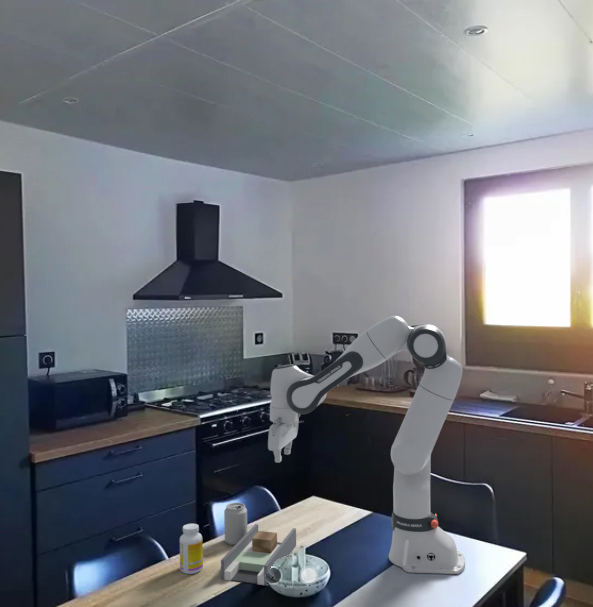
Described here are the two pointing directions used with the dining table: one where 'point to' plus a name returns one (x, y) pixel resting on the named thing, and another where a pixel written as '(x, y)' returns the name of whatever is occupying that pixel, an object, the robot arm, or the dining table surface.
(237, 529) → the can
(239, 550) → the box
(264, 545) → the walnut block
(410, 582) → the dining table surface
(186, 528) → the supplement bottle
